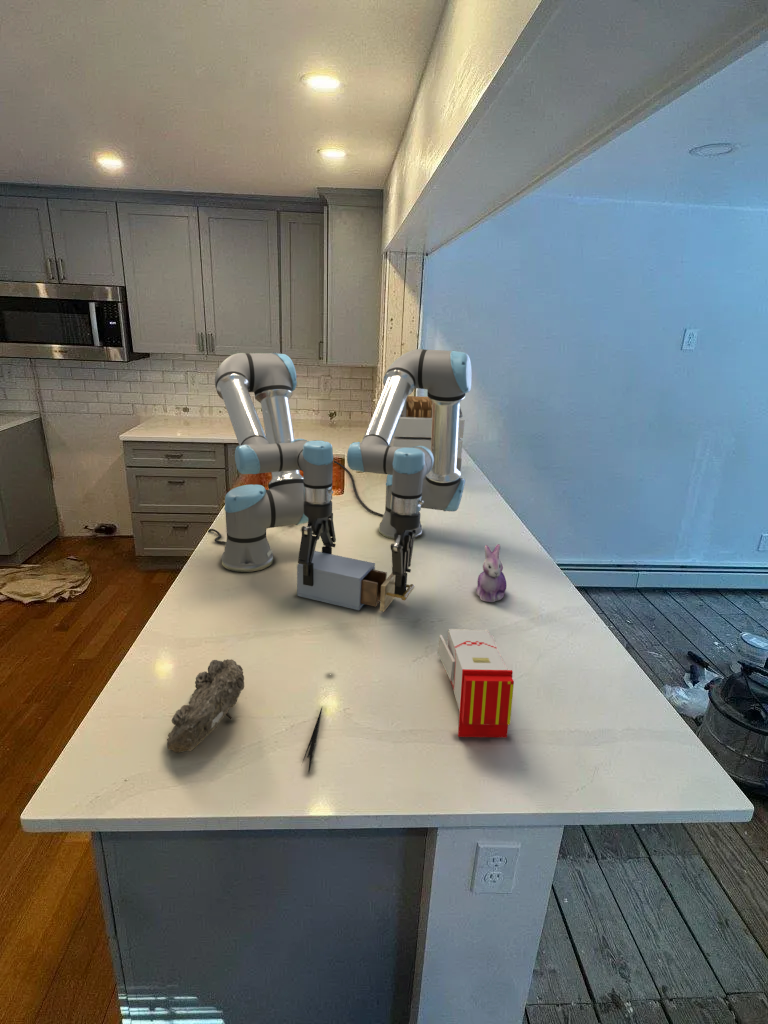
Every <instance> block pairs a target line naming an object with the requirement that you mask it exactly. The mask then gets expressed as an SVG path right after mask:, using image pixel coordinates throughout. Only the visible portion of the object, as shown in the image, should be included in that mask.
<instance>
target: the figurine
mask: <svg viewBox="0 0 768 1024" xmlns="http://www.w3.org/2000/svg"><path fill="white" fill-rule="evenodd" d="M500 553H501V545H500V544H496V545H495V547H494V549H493V550H491V547H490V546H489V545H487V544H485V545H484V561H483V564H482V570H483V571H482V572H481V573H480V574H478V576H477V586H476V595H477V596H478V597H479V599H480V600H481V601H483V602H488V603H495V602H496V601H501V600H502V599H503V598H504V596H505V593H506V590H507V580H506V576H505V574H504V572H503V570H504V566H503V562H502V560H501V558H500Z"/></svg>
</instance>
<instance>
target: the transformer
mask: <svg viewBox="0 0 768 1024" xmlns="http://www.w3.org/2000/svg"><path fill="white" fill-rule="evenodd" d="M431 427H432V400H431V399H429V398H428V396H415V395H414V396H413V395H412V396H411V395H408V397H407V400H406V402H405V405H404V408H403V410H402V413H401V416H400V419H399V421H398V424H397V427H396V430H395V432H394V435H393V438H392V440H391V443H390V446H394V447H404V448H413V447H416V446H424V447H426V448H428V449H429V450H430V451H431ZM464 429H465V419H464V418H463V411H462V408H461V407H460V411H459V429H458V447H457V466H456V468H457V469H458V470H459V471H460V474H461V472H462V461H463V460H462V453H463V442H464V441H463V440H462V439H463V438H464V431H465V430H464ZM461 475H462V474H461Z"/></svg>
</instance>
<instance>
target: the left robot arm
mask: <svg viewBox="0 0 768 1024" xmlns="http://www.w3.org/2000/svg"><path fill="white" fill-rule="evenodd" d="M295 367H296V366H295V364H294V363H293V360H292V359H291V357H289V356H288V355H287V354H285V353H278V352H271V353H269V352H267V353H266V352H265V353H263V352H259V353H258V352H257V353H255V352H251V353H250V352H249V353H245V352H238V353H234V354H231V355H230V356H228V357H227V358H225V359H224V360H223V361H222V362H221V363H220V364H219V366H218V368H217V369H216V372H215V376H214V386H215V390H216V393H217V395H218V397H219V398H220V399H221V400H223V403H224V405H225V408H226V411H227V415H228V417H229V421H230V423H231V426H232V429H233V432H234V434H235V437H236V441H237V443H238V446H236V447H235V449H234V462H235V467H236V469H237V471H238V473H239V474H241V475H257V474H266V473H267V474H268V473H271V474H270V475H271V479H270V481H269V482H267V483H268V484H267V487H268V489H266V488H265V487H264V486H263V485H261V484H253V483H251V484H243V485H239V486H235V487H233V488H232V489H230V490H229V491H228V492H226V494H225V496H224V508H223V509H224V513H225V527H226V529H225V530H226V531H225V532H226V540H225V541H223V540H219V539H221V538H222V534H221V533H220V531H218V530H217V529H215V528H210V529H208V530H207V532H208V533H210V532H214V533H215V534H217V536H216V537H215V538H214V542H215V543H217V544H224V548H223V552H222V555H221V565H222V566H223V567H224V568H225V569H226V570H229V571H232V572H237V573H252V572H257V571H261V570H264V569H267V568H268V567H270V566H271V565H272V564H273V563H274V553H273V549H272V548H271V546H270V542H269V540H268V537H267V529H273V528H282V527H290V526H300V525H303V526H301V538H300V546H299V552H298V559H297V564H303V585H308V586H313V563H312V559H313V555H314V551H316V547H317V543H318V540H320V539H321V542H322V544H323V545H322V546H321V552H323V553H328V554H333V548H336V541H337V539H336V531H335V525H334V513H333V501H332V500H333V494H334V490H333V477H334V476H333V471H334V454H333V453H334V452H333V445H332V443H330V442H329V441H325V440H308V439H304V438H295V433H294V427H293V421H292V420H293V419H292V415H291V408H290V407H291V406H290V402H289V401H290V399H291V398H292V396H293V392H294V391H295V390H296V388H297V386H298V385H297V383H298V382H297V377H298V376H297V371H296V368H295ZM250 393H253V395H254V399H255V400H256V402H258V403H259V404H260V406H261V414H262V420H263V424H262V422H261V420H260V418H259V415H258V412H257V410H256V407H255V405H254V402H253V400H252V397H251V394H250ZM262 425H263V426H264V428H263V426H262ZM300 471H302V474H303V475H302V474H301V472H300ZM304 524H307V525H306V526H304Z"/></svg>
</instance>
